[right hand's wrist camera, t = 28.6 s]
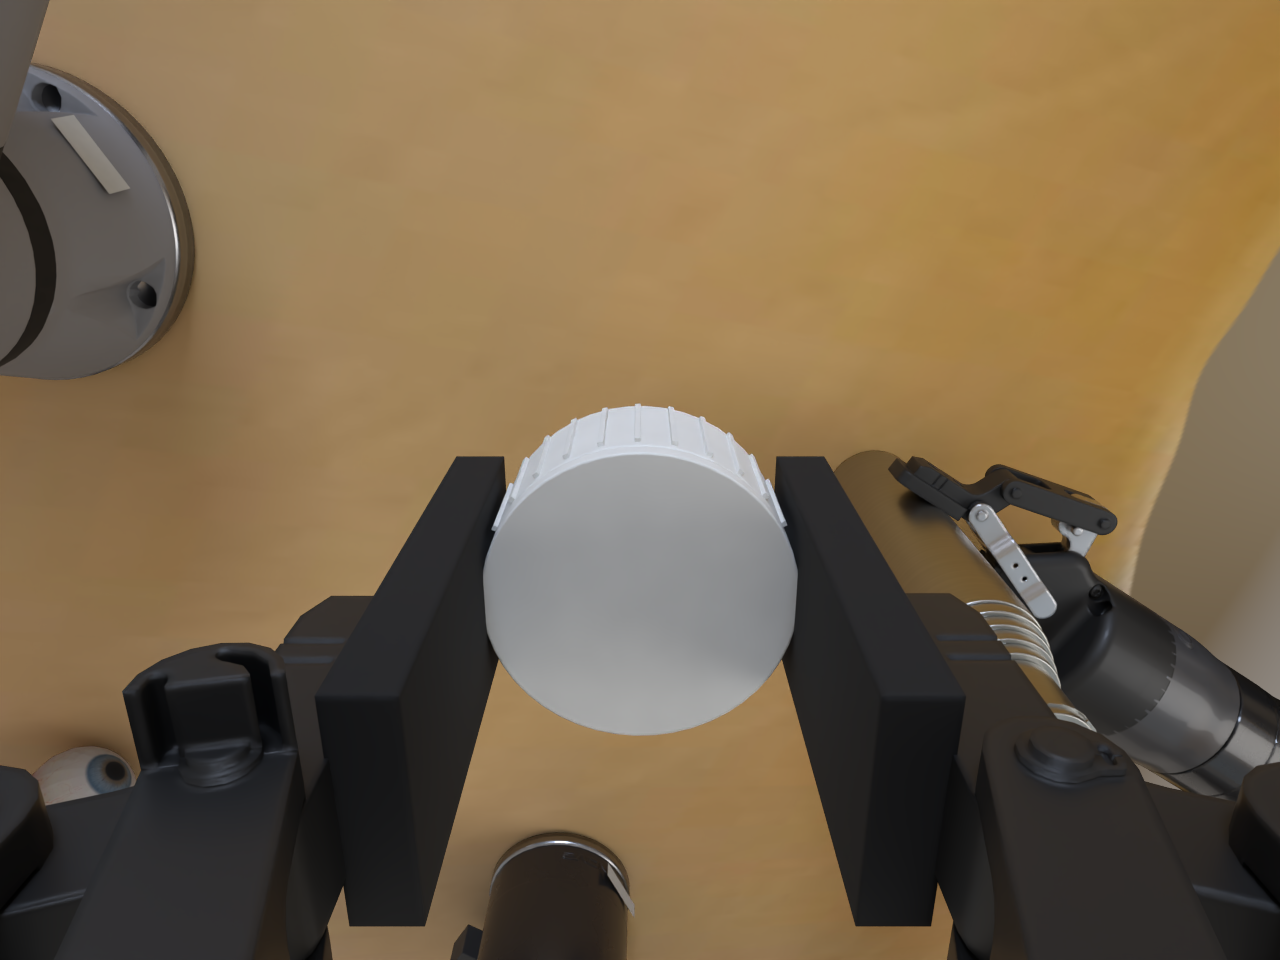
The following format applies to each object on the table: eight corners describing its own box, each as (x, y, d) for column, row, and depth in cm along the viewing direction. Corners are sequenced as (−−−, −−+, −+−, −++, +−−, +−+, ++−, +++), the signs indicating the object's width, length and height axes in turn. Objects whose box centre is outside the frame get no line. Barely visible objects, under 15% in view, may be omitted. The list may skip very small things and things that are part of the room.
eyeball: (178, 769, 57) (128, 837, 51) (114, 817, 58) (58, 889, 53) (105, 707, 55) (44, 771, 50) (40, 759, 57) (-26, 826, 51)
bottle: (858, 547, 52) (1020, 841, 30) (809, 485, 50) (940, 746, 28) (930, 497, 50) (1153, 764, 29) (882, 433, 49) (1077, 662, 27)
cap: (729, 360, 13) (745, 400, 11) (813, 608, 15) (842, 686, 13) (455, 458, 14) (421, 514, 12) (562, 688, 15) (550, 775, 13)
